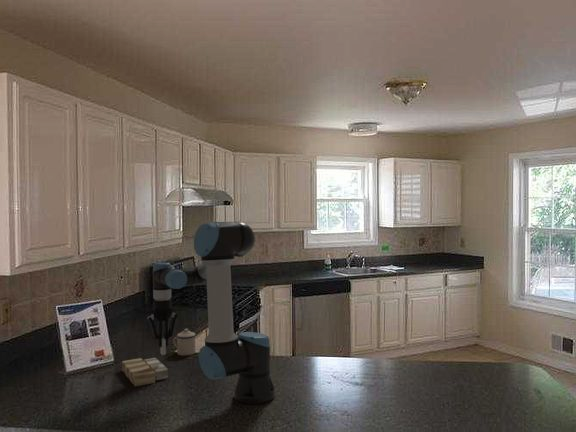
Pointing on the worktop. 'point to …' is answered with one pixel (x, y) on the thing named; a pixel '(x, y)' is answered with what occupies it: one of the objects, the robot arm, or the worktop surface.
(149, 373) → the oak floor row
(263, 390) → the robot arm
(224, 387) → the worktop surface
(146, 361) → the plank
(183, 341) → the teacup with lid
